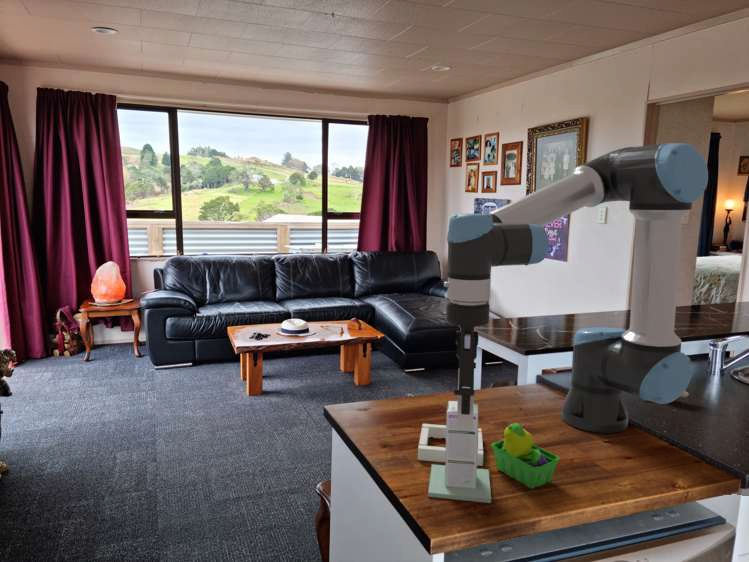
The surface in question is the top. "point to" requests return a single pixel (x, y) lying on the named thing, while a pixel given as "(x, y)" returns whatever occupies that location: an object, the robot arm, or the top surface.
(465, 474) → the syrup box
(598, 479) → the top surface
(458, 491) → the mat
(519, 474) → the fruit basket
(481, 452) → the white open square frame
